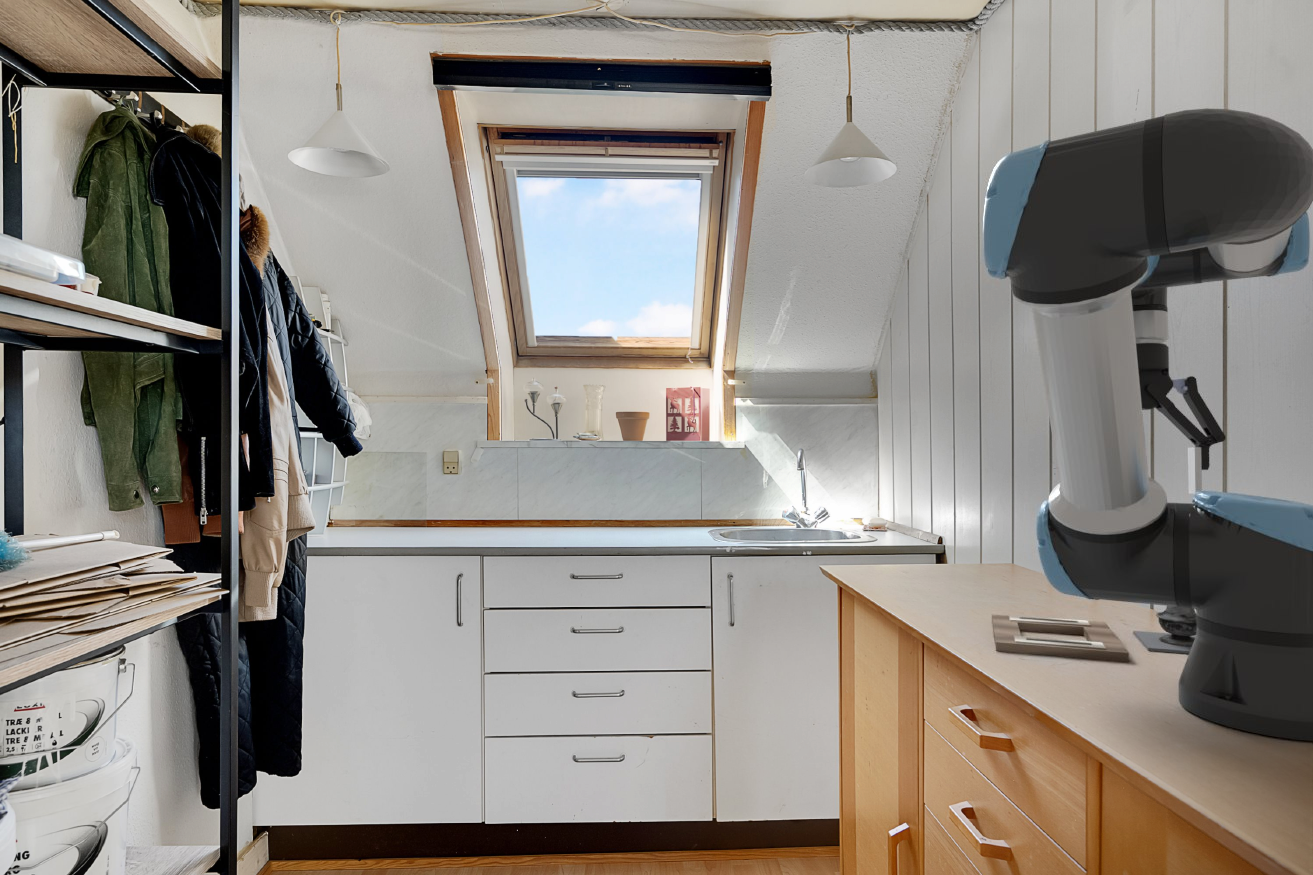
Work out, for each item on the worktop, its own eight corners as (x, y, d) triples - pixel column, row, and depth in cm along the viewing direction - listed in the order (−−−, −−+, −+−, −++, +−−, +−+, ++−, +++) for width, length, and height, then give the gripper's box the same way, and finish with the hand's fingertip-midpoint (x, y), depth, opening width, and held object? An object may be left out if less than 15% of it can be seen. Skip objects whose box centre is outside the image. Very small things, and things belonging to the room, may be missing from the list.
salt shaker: (1217, 647, 103) (1215, 560, 104) (1173, 647, 104) (1172, 561, 104) (1187, 636, 109) (1186, 554, 109) (1147, 636, 109) (1145, 554, 110)
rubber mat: (1235, 657, 100) (1235, 654, 100) (1148, 650, 104) (1148, 647, 104) (1212, 639, 109) (1212, 636, 109) (1133, 633, 113) (1133, 630, 113)
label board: (1128, 661, 99) (1128, 650, 99) (996, 650, 105) (995, 639, 105) (1105, 629, 115) (1105, 620, 115) (991, 621, 121) (991, 612, 121)
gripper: (1229, 345, 107) (1232, 493, 106) (1036, 352, 115) (1037, 490, 114) (1252, 336, 100) (1255, 495, 99) (1044, 345, 108) (1046, 492, 107)
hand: (1139, 493), depth 107 cm, fingers open, 13 cm apart
